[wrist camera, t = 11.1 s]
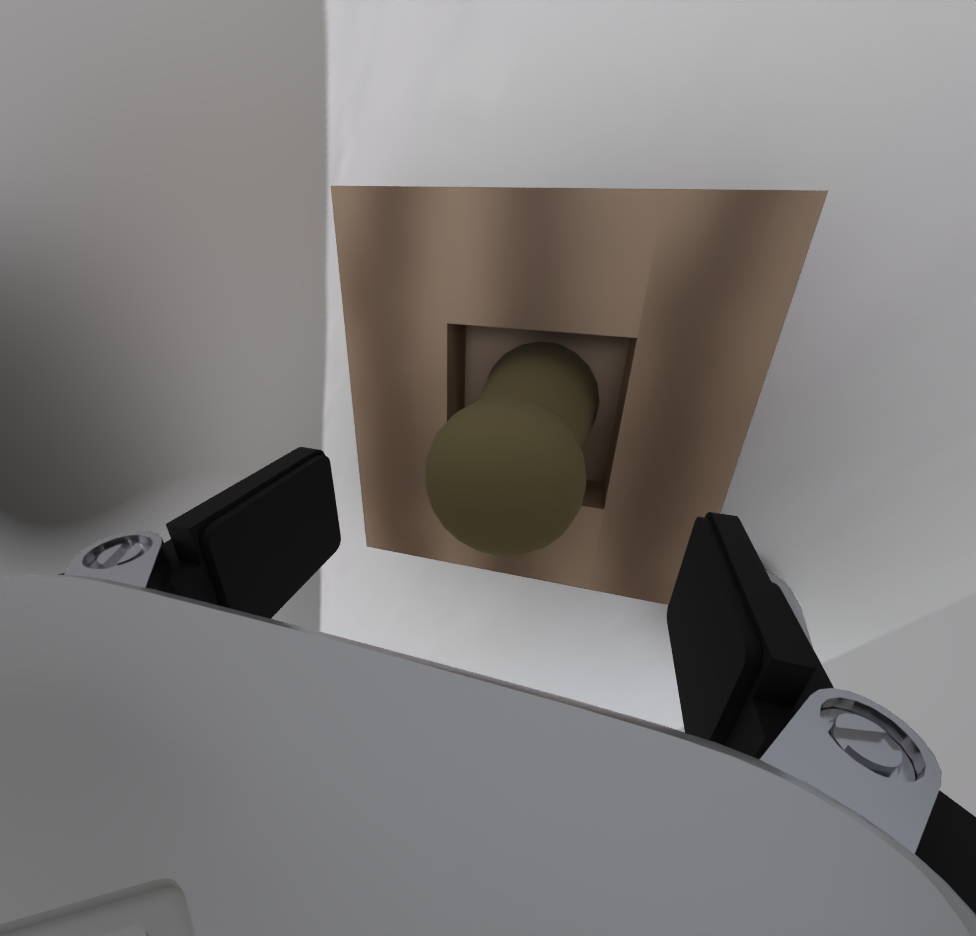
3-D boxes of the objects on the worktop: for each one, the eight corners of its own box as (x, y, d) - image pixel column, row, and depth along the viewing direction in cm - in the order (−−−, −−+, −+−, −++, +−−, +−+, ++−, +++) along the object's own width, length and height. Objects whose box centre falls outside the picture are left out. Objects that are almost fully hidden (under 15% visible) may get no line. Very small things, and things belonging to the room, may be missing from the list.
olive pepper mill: (463, 412, 23) (364, 512, 13) (525, 315, 20) (458, 354, 10) (551, 474, 23) (518, 617, 14) (625, 388, 20) (650, 492, 11)
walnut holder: (780, 208, 17) (828, 190, 13) (675, 561, 25) (688, 608, 21) (376, 201, 20) (330, 185, 17) (395, 512, 28) (366, 546, 25)
